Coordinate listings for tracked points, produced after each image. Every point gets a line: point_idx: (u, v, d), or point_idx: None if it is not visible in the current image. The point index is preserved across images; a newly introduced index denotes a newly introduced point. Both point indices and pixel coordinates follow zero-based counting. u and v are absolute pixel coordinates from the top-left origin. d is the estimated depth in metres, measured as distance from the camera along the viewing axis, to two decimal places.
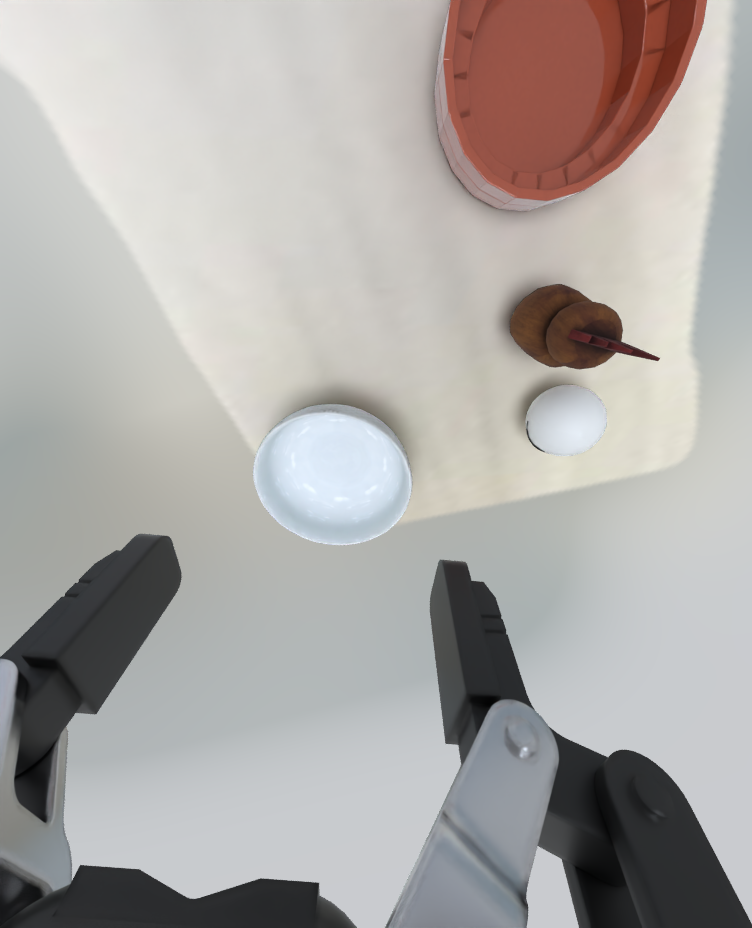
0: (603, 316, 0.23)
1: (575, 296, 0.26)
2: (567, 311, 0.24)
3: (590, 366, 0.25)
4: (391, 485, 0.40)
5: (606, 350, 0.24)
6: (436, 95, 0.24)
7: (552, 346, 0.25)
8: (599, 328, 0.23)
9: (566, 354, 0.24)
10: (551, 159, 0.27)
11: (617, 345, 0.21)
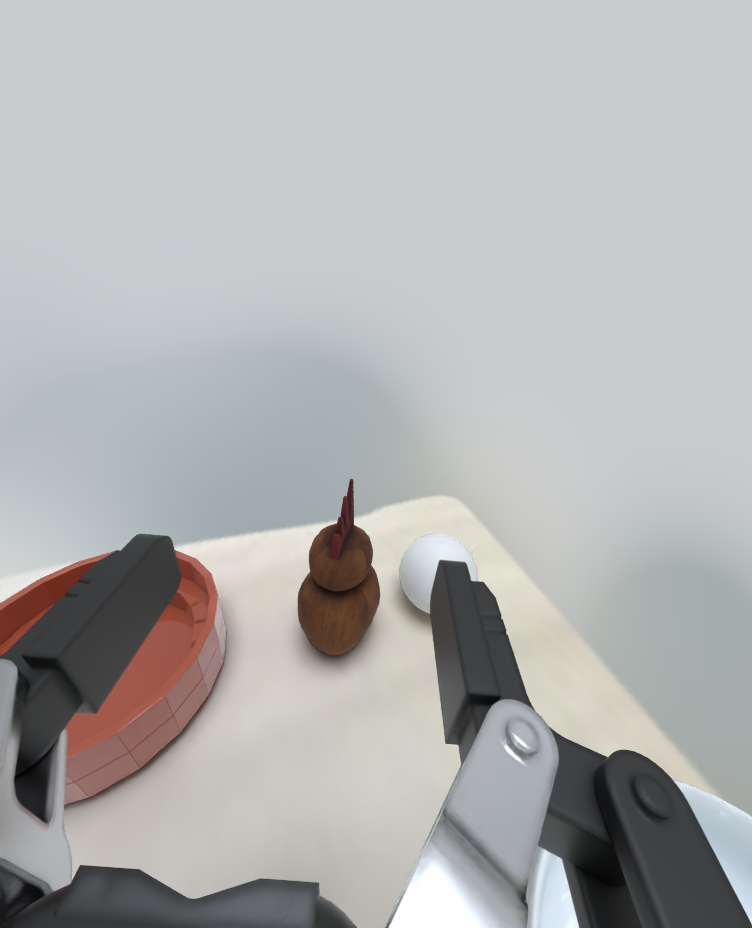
0: (320, 537, 0.24)
1: (307, 577, 0.26)
2: (315, 569, 0.23)
3: (367, 538, 0.25)
4: None
5: (351, 528, 0.25)
6: None
7: (349, 577, 0.23)
8: (330, 537, 0.24)
9: (356, 558, 0.23)
10: (187, 643, 0.27)
11: (342, 511, 0.23)
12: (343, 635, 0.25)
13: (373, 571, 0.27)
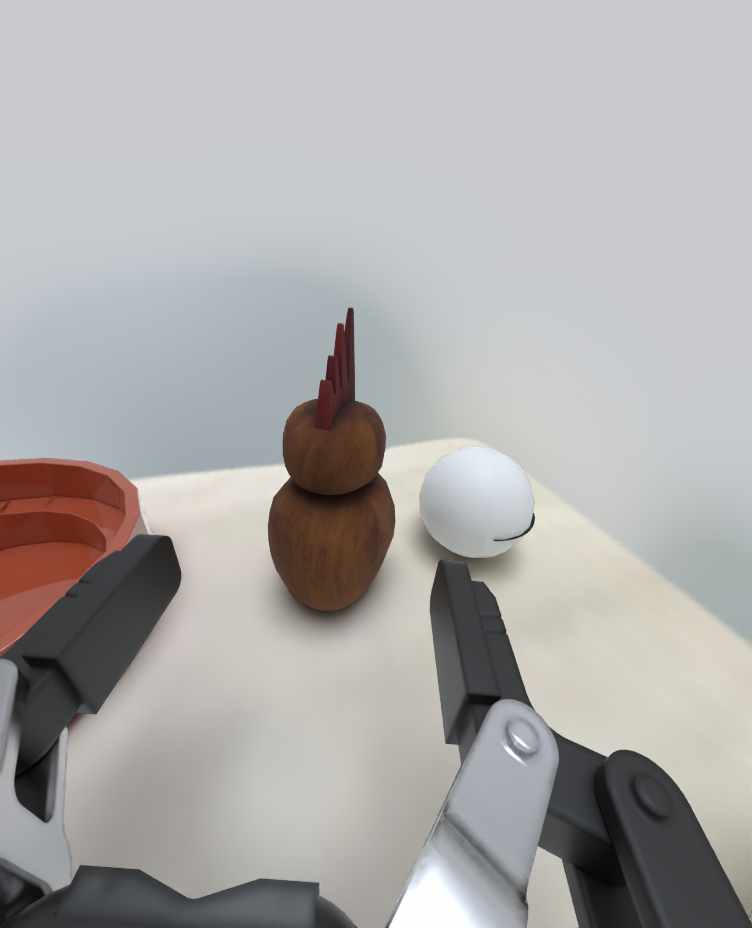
0: (301, 406, 0.15)
1: (283, 486, 0.17)
2: (291, 452, 0.14)
3: (377, 414, 0.15)
4: None
5: (351, 400, 0.16)
6: None
7: (349, 463, 0.14)
8: None
9: (359, 431, 0.14)
10: None
11: (335, 352, 0.14)
12: (340, 570, 0.15)
13: (385, 482, 0.18)
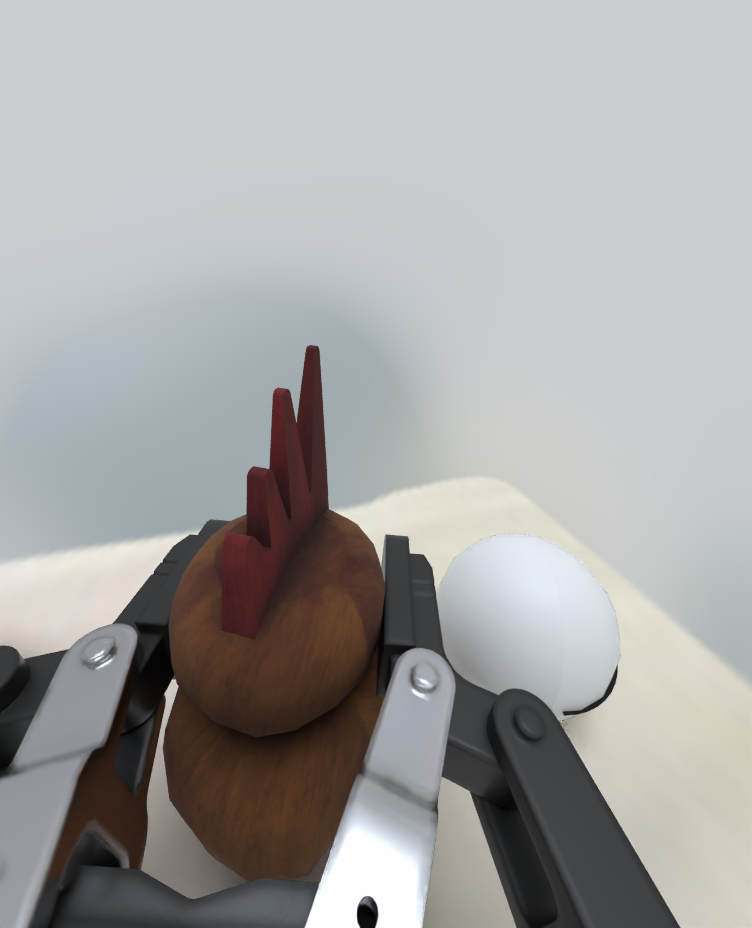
0: (211, 546, 0.07)
1: None
2: (174, 669, 0.06)
3: (370, 549, 0.08)
4: None
5: (319, 519, 0.08)
6: None
7: (303, 698, 0.06)
8: None
9: (327, 627, 0.06)
10: None
11: (273, 450, 0.06)
12: (293, 863, 0.08)
13: None
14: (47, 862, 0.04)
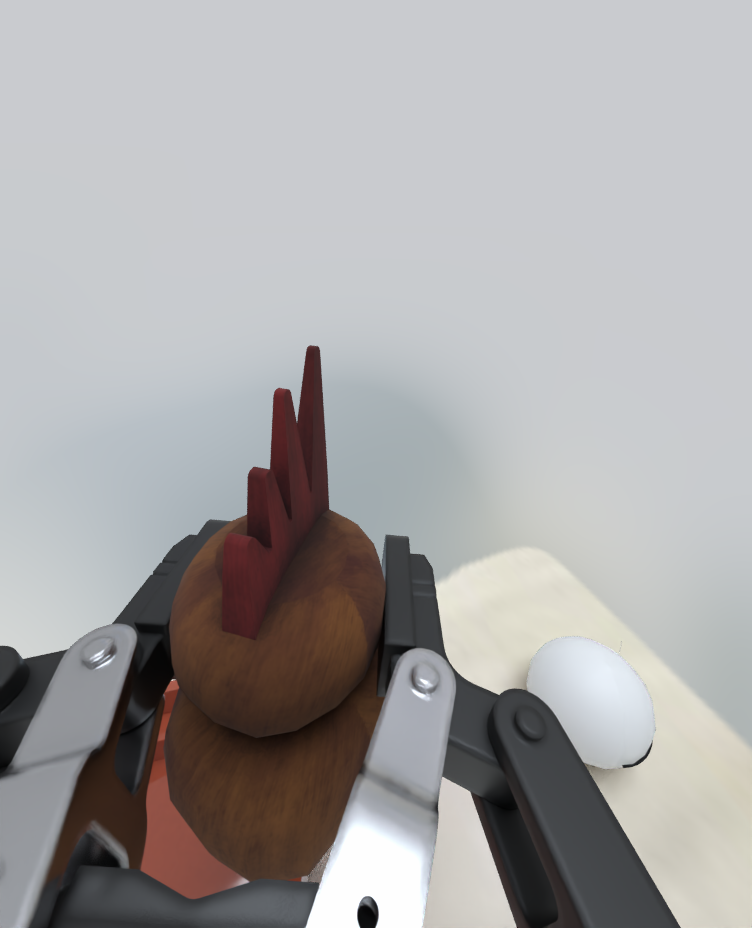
0: (212, 547, 0.07)
1: None
2: (175, 670, 0.06)
3: (370, 549, 0.08)
4: None
5: (320, 519, 0.08)
6: None
7: (303, 699, 0.06)
8: None
9: (328, 627, 0.06)
10: None
11: (274, 450, 0.06)
12: (293, 864, 0.08)
13: None
14: (47, 862, 0.04)
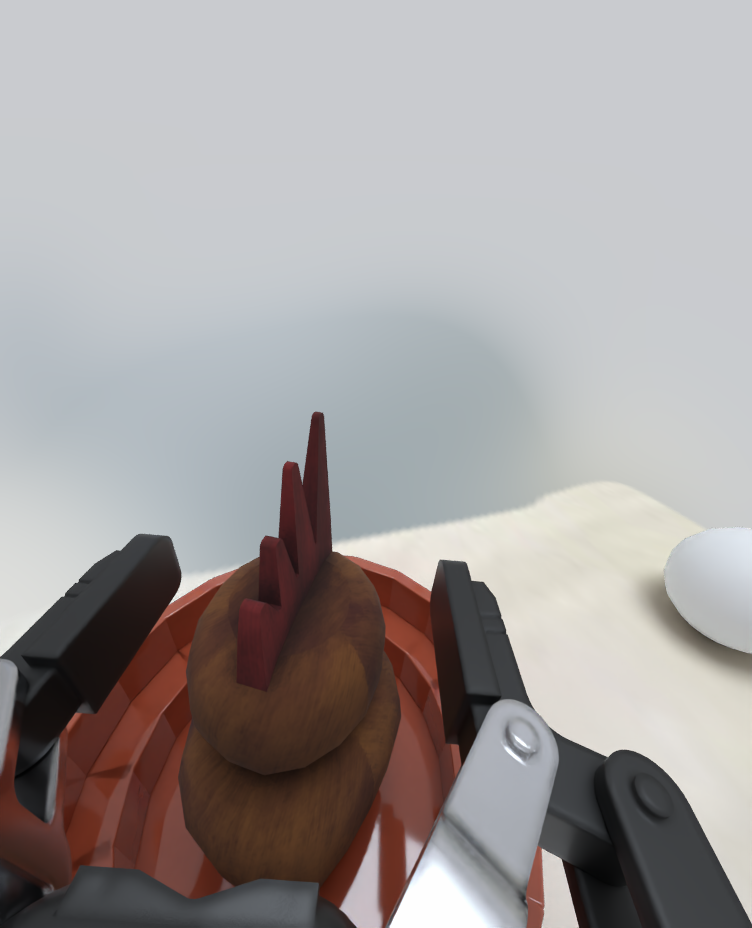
0: (225, 595, 0.08)
1: None
2: (193, 714, 0.07)
3: (371, 594, 0.08)
4: None
5: (324, 565, 0.09)
6: None
7: (310, 742, 0.07)
8: (255, 595, 0.08)
9: (332, 677, 0.07)
10: (404, 719, 0.15)
11: (282, 515, 0.07)
12: None
13: (385, 663, 0.11)
14: None
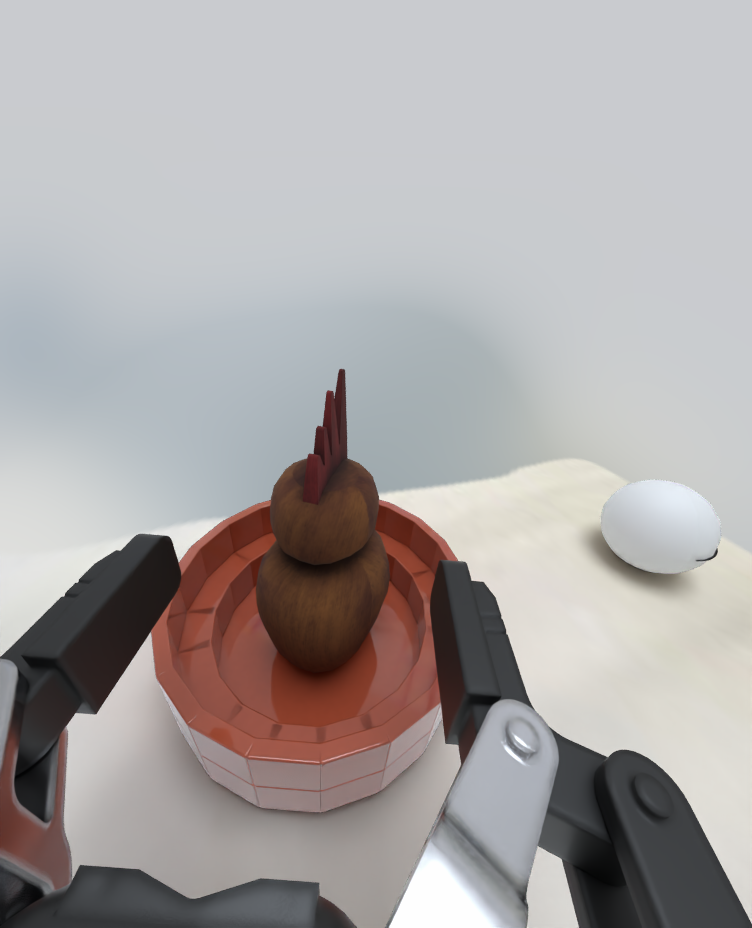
0: (289, 471, 0.14)
1: (272, 546, 0.16)
2: (277, 524, 0.13)
3: (370, 477, 0.15)
4: None
5: (343, 461, 0.15)
6: (330, 801, 0.13)
7: (338, 536, 0.13)
8: None
9: (350, 503, 0.13)
10: (394, 603, 0.22)
11: (324, 419, 0.13)
12: (329, 641, 0.14)
13: (379, 538, 0.17)
14: None
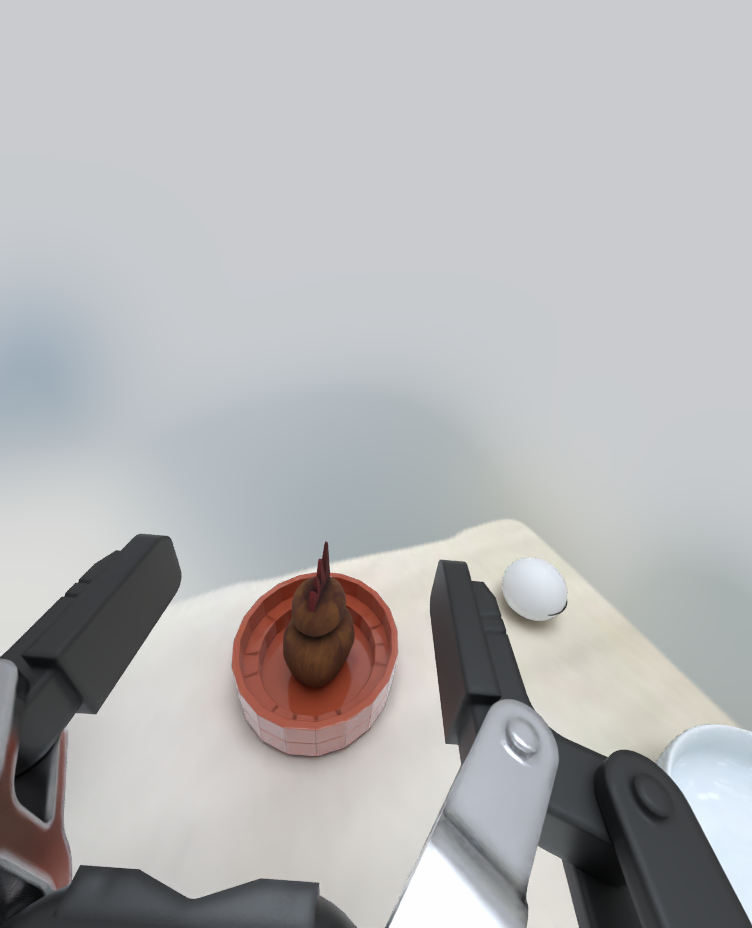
0: (300, 590, 0.29)
1: (290, 622, 0.30)
2: (295, 619, 0.28)
3: (341, 590, 0.29)
4: (732, 777, 0.27)
5: (327, 581, 0.29)
6: (320, 750, 0.27)
7: (324, 625, 0.27)
8: (309, 590, 0.28)
9: (329, 610, 0.27)
10: (360, 644, 0.36)
11: (317, 570, 0.27)
12: (320, 673, 0.29)
13: (348, 614, 0.32)
14: None
